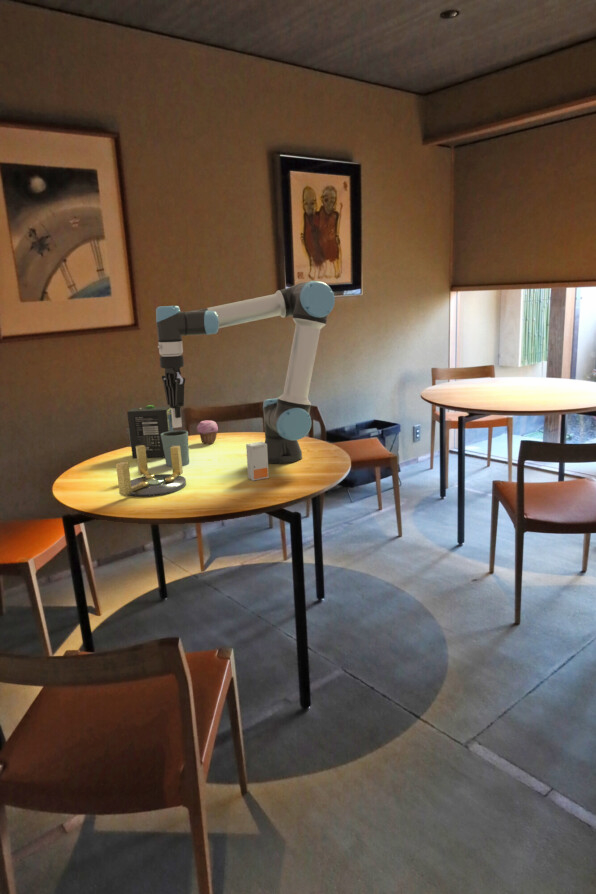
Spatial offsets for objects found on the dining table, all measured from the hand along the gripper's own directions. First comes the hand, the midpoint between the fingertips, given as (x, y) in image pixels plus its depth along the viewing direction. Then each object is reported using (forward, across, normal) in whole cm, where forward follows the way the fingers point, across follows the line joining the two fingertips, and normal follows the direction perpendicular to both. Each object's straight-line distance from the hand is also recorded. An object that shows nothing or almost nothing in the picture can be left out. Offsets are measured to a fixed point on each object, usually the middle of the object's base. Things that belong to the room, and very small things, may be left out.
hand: (177, 427), depth 201 cm
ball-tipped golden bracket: (+17, +3, -17) cm, 25 cm away
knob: (+17, -10, -8) cm, 21 cm away
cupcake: (+19, -46, +34) cm, 60 cm away
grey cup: (+19, -23, +9) cm, 32 cm away
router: (+19, -43, +8) cm, 47 cm away
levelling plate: (+19, -1, -9) cm, 21 cm away
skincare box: (+19, +15, +21) cm, 32 cm away
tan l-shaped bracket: (+17, -1, -2) cm, 17 cm away
